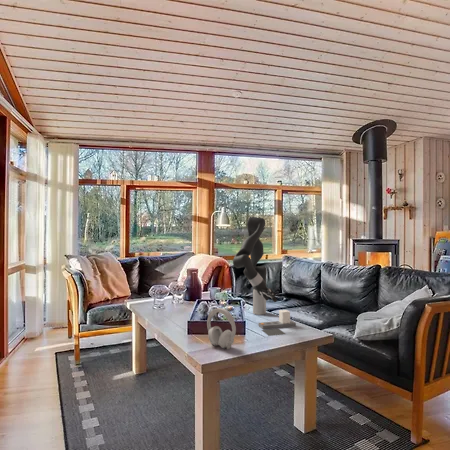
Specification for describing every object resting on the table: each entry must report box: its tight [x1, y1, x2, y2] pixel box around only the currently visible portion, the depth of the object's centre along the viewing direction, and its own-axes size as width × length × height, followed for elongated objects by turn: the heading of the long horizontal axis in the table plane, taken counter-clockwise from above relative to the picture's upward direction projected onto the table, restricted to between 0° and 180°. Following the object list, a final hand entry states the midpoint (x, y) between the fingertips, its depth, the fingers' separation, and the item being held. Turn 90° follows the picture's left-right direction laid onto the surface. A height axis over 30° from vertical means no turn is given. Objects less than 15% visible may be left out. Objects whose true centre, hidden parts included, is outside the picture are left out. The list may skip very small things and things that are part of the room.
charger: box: [278, 309, 291, 324], centre depth 226 cm, size 5×5×9 cm
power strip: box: [257, 319, 297, 330], centre depth 225 cm, size 7×22×3 cm, turn 107°
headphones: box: [206, 307, 237, 350], centre depth 189 cm, size 19×8×20 cm, turn 47°
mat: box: [261, 328, 287, 337], centre depth 213 cm, size 11×11×1 cm
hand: (271, 300), depth 223 cm, fingers open, 8 cm apart
